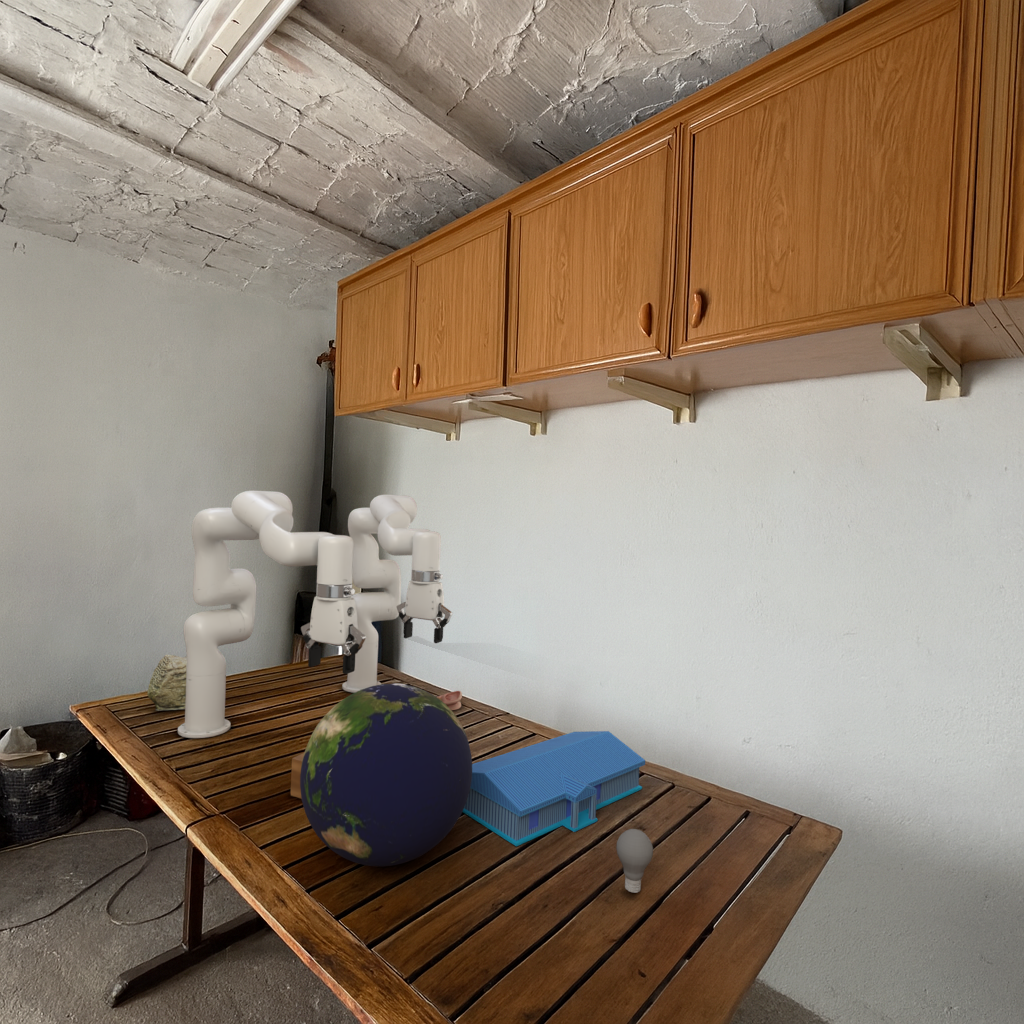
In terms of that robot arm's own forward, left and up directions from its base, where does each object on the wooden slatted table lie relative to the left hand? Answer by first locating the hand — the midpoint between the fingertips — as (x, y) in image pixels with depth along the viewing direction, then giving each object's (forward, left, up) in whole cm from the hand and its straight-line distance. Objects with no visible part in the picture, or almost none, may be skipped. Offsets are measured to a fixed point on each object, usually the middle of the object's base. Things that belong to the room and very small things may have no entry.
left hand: (331, 669), depth 139 cm
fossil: (-69, -20, -26) cm, 76 cm away
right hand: (-18, +31, 0) cm, 36 cm away
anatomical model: (-35, +46, -26) cm, 63 cm away
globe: (+32, 0, -26) cm, 41 cm away
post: (-9, +15, -26) cm, 31 cm away
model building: (+30, +40, -26) cm, 56 cm away
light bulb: (+62, +31, -26) cm, 74 cm away
